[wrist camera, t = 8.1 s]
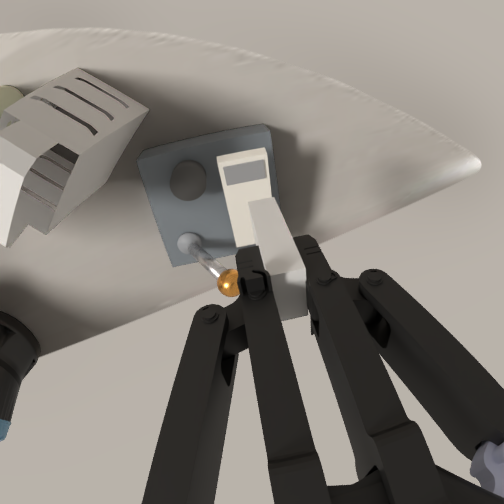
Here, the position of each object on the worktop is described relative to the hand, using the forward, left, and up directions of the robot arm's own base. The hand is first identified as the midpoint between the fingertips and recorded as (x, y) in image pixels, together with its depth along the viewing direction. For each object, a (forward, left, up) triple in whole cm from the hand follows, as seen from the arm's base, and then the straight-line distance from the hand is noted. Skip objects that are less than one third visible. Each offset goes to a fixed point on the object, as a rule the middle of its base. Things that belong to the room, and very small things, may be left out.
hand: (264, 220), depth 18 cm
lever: (-8, -10, -15) cm, 19 cm away
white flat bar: (0, -5, -12) cm, 13 cm away
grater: (-16, +6, -20) cm, 26 cm away
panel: (-4, -6, -19) cm, 21 cm away
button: (-6, -2, -15) cm, 16 cm away
